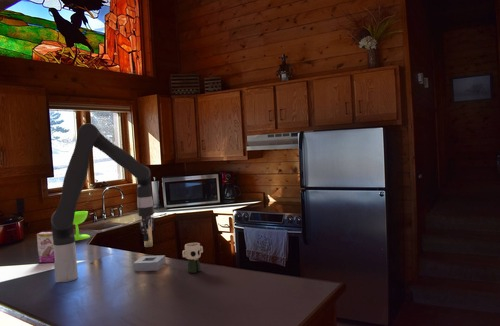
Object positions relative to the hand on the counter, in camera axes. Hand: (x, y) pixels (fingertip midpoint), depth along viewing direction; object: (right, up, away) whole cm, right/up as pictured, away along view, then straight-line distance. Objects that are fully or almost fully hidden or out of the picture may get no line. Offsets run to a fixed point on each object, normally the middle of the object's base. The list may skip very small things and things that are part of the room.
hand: (148, 239), depth 198 cm
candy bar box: (-61, -17, +24) cm, 68 cm away
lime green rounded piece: (-72, -15, +84) cm, 112 cm away
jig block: (+1, -14, 0) cm, 14 cm away
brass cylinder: (0, -3, 0) cm, 3 cm away
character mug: (+25, -13, -12) cm, 30 cm away
